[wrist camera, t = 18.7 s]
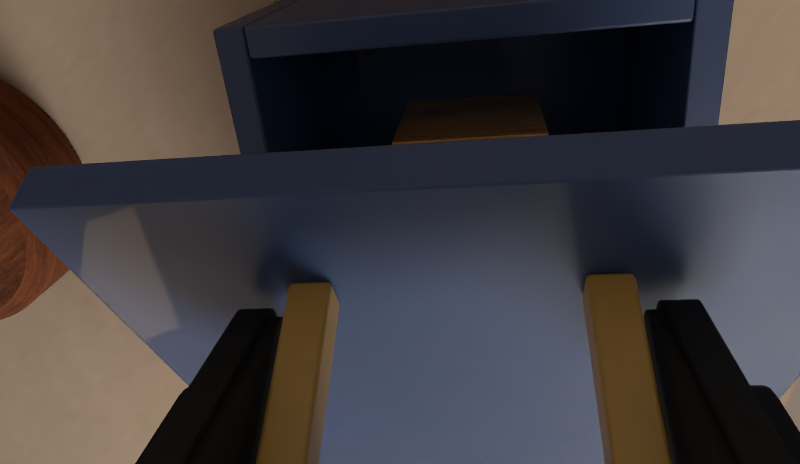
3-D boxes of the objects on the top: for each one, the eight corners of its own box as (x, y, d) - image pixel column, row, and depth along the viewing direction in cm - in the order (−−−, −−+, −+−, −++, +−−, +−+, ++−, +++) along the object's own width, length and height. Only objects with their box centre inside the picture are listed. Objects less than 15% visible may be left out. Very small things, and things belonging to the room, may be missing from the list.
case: (294, -7, 22) (211, 29, 15) (650, -42, 20) (737, -20, 14) (353, 347, 29) (314, 482, 22) (623, 344, 27) (672, 490, 20)
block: (407, 101, 23) (391, 142, 19) (536, 92, 22) (548, 133, 18) (418, 215, 25) (406, 275, 21) (536, 210, 24) (548, 271, 20)
